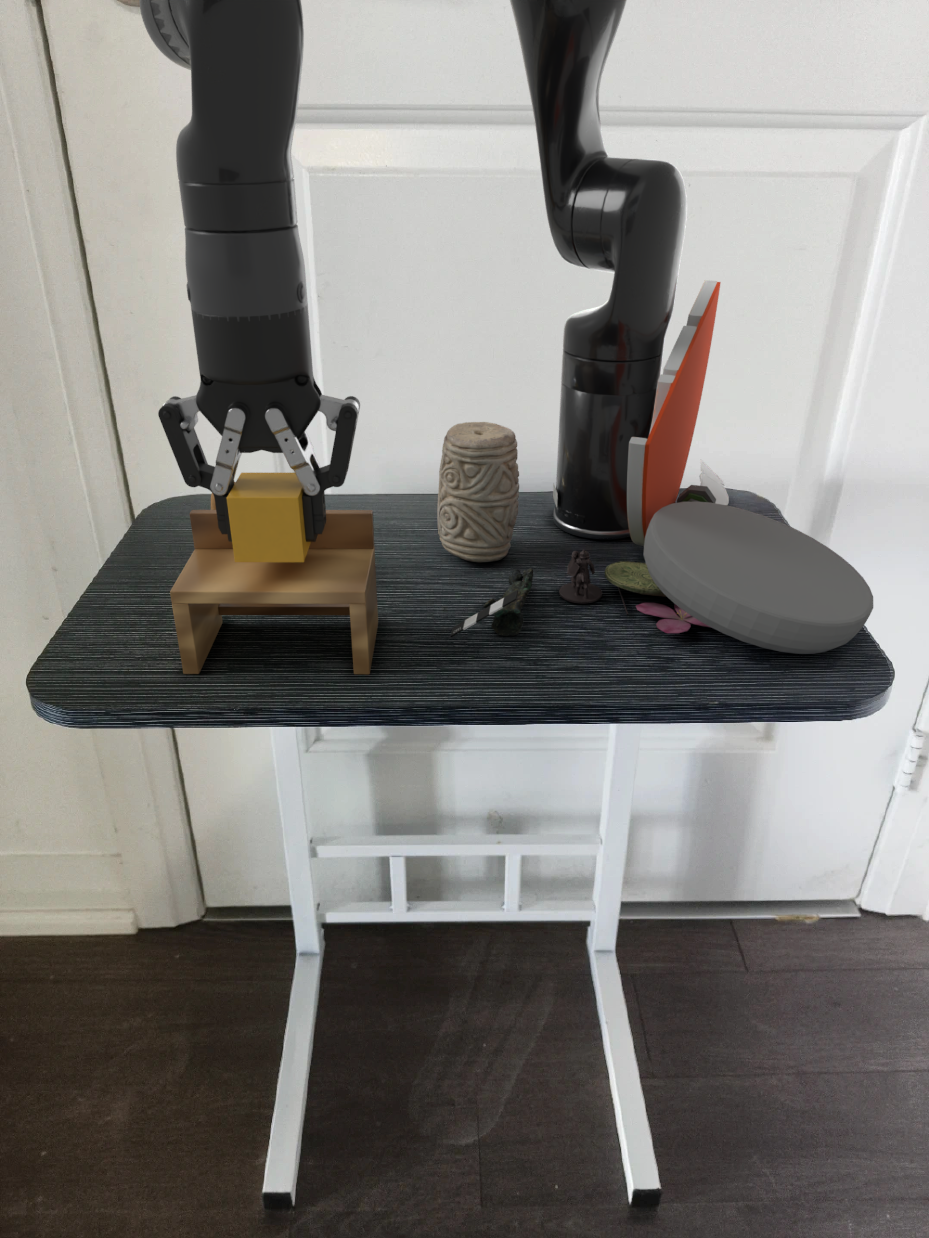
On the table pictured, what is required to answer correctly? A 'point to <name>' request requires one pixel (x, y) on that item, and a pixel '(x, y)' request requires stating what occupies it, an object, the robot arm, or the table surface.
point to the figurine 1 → (504, 607)
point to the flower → (669, 617)
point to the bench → (278, 585)
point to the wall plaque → (671, 419)
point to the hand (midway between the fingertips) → (273, 536)
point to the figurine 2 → (582, 581)
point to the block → (267, 518)
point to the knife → (706, 489)
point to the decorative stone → (755, 578)
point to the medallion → (632, 577)
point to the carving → (478, 491)
